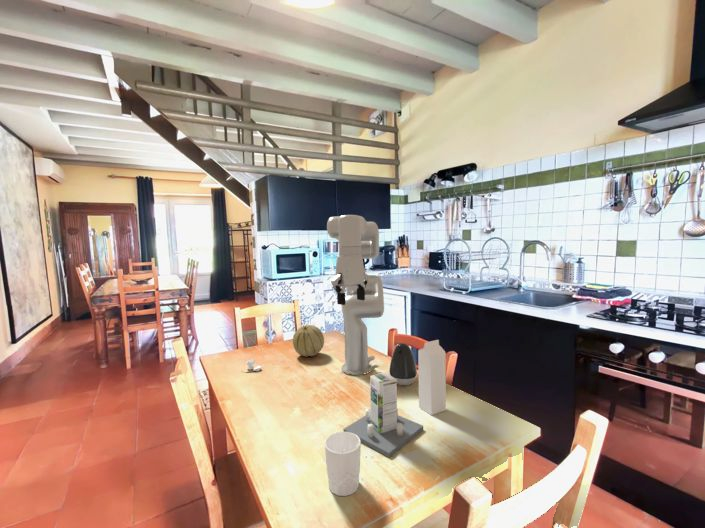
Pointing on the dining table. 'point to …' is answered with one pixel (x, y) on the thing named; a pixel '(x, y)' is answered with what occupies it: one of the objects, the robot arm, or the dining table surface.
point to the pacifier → (251, 365)
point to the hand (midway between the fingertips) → (351, 302)
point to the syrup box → (383, 402)
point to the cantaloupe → (308, 340)
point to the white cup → (343, 462)
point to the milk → (432, 378)
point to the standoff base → (384, 434)
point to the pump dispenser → (403, 365)
